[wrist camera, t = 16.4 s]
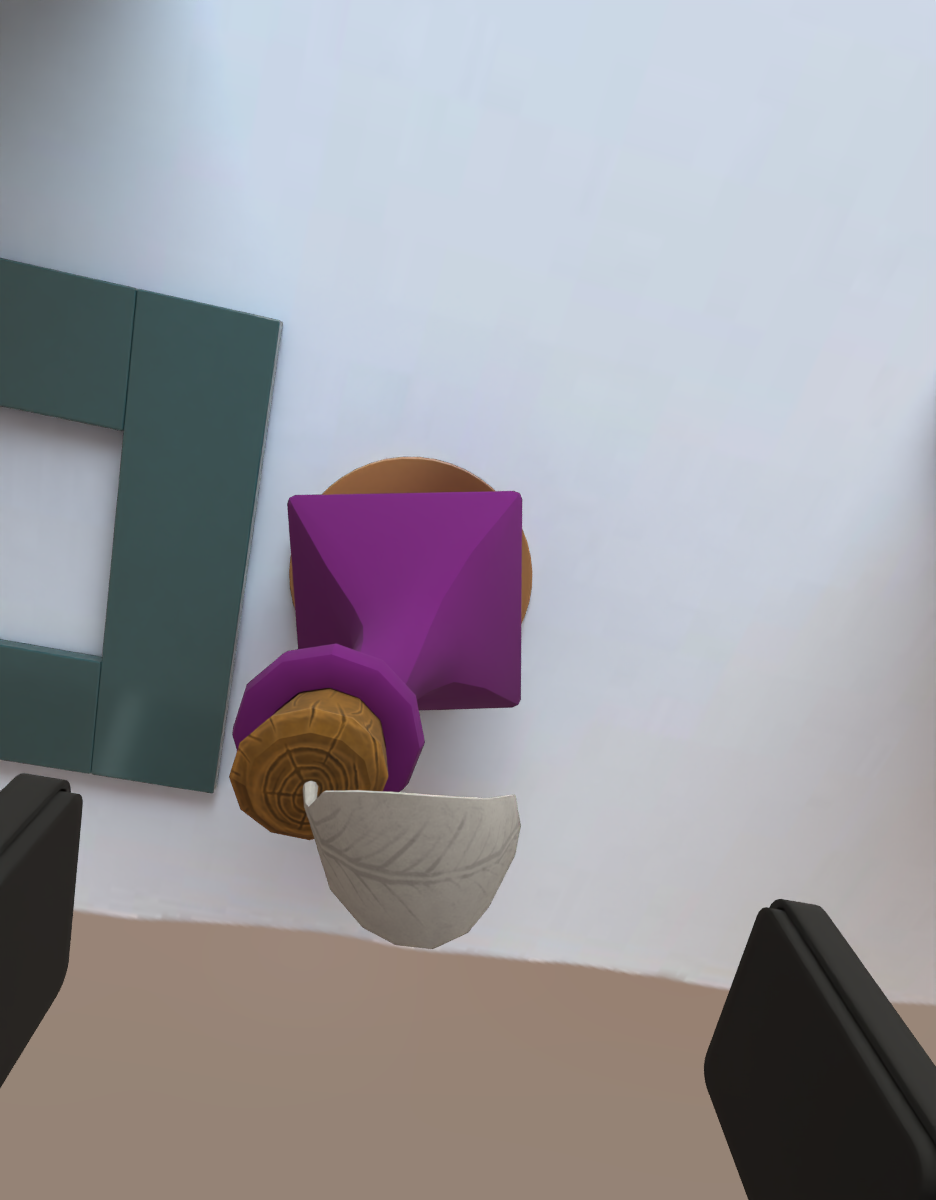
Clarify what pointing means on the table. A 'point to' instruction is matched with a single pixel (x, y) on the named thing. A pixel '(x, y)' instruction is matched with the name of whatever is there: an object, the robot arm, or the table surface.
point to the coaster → (420, 479)
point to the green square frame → (143, 519)
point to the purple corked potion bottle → (389, 702)
